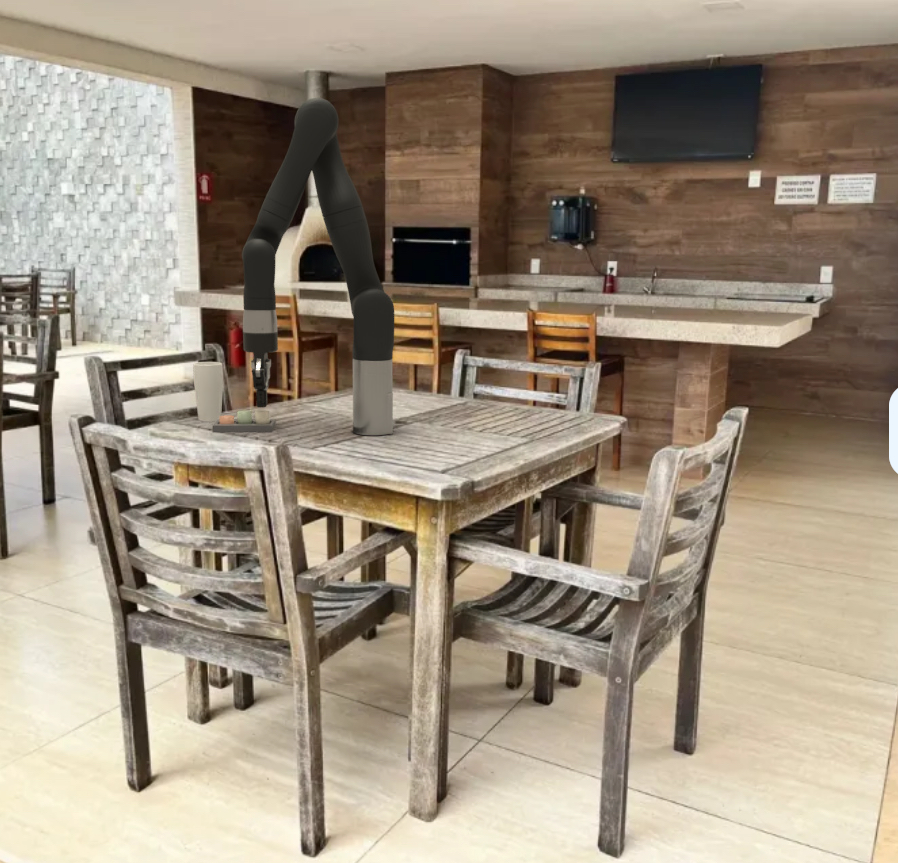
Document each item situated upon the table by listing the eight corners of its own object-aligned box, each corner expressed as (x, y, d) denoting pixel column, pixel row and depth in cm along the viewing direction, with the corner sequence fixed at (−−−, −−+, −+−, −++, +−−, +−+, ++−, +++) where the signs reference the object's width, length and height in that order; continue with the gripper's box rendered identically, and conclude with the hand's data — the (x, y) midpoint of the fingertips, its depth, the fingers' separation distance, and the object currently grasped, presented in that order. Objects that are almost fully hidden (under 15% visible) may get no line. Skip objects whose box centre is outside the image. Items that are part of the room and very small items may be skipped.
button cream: (270, 427, 205) (270, 410, 204) (269, 430, 202) (268, 412, 201) (256, 427, 205) (256, 410, 204) (254, 430, 202) (254, 412, 201)
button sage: (252, 427, 205) (252, 410, 204) (251, 430, 202) (250, 412, 201) (238, 427, 205) (238, 410, 204) (236, 430, 201) (236, 412, 201)
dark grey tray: (275, 431, 208) (275, 419, 207) (272, 438, 200) (271, 425, 200) (218, 432, 207) (218, 419, 206) (212, 438, 199) (212, 425, 198)
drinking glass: (195, 428, 211) (193, 365, 208) (195, 423, 217) (193, 361, 214) (225, 427, 213) (222, 364, 210) (224, 422, 219) (222, 361, 216)
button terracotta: (235, 432, 205) (234, 415, 204) (233, 435, 202) (232, 417, 201) (221, 432, 204) (220, 415, 204) (218, 435, 201) (218, 417, 201)
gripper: (274, 332, 193) (275, 411, 196) (280, 328, 206) (281, 402, 209) (238, 332, 193) (241, 411, 196) (247, 327, 205) (249, 402, 209)
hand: (262, 406), depth 203 cm, fingers closed
